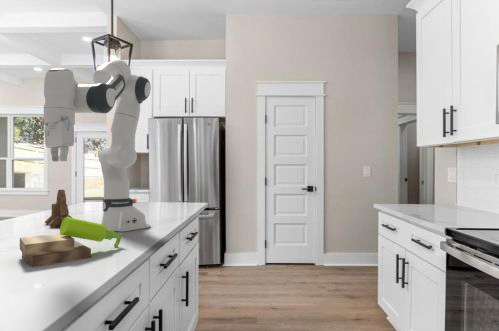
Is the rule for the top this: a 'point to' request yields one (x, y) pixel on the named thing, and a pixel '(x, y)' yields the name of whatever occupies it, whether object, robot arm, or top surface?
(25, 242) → the oak top slab
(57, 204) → the wooden blocks
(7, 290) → the top surface
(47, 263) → the walnut base slab
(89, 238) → the soap dispenser
